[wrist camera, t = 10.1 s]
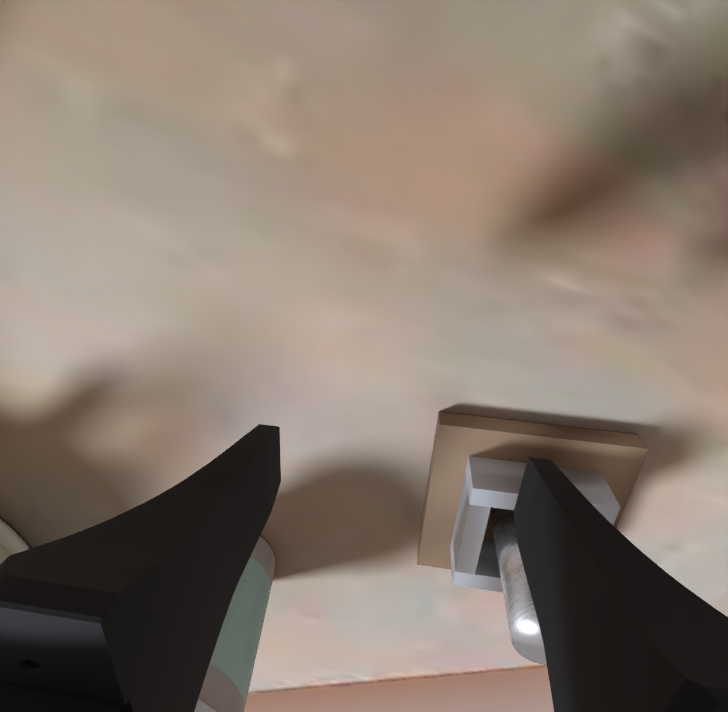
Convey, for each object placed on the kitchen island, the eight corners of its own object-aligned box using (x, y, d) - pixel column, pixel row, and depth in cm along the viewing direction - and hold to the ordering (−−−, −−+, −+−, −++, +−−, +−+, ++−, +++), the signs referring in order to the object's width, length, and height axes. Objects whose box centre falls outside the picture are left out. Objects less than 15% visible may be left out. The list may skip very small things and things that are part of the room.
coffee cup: (274, 500, 28) (178, 728, 17) (310, 595, 31) (249, 836, 20) (152, 511, 29) (-6, 724, 19) (199, 600, 33) (89, 824, 22)
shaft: (553, 488, 23) (600, 613, 17) (550, 534, 24) (592, 667, 18) (489, 488, 24) (511, 609, 17) (489, 534, 25) (510, 662, 19)
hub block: (637, 434, 23) (673, 482, 19) (584, 571, 27) (605, 629, 24) (438, 411, 23) (441, 454, 20) (417, 548, 28) (416, 601, 25)
